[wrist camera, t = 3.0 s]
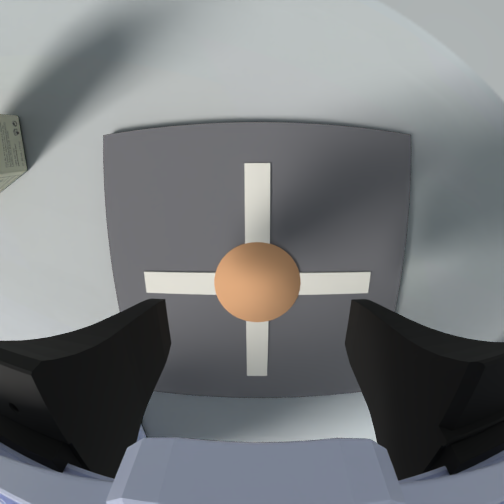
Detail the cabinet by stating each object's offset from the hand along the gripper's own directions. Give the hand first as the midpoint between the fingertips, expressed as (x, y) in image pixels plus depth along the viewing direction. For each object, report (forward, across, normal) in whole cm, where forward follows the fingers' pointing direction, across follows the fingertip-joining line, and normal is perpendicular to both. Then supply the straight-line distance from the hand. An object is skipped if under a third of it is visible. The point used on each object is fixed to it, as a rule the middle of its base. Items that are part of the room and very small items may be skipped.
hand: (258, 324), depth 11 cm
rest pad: (+5, 0, 0) cm, 5 cm away
